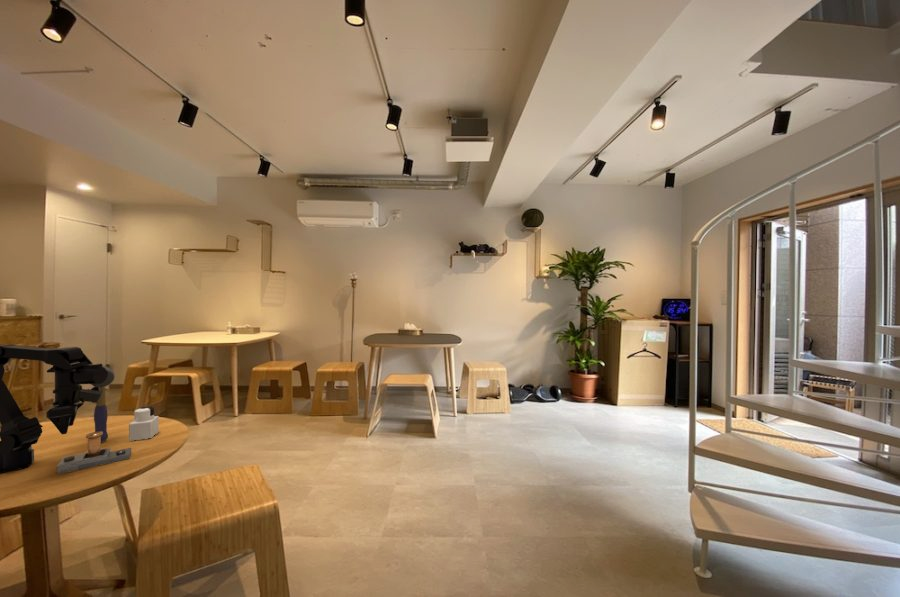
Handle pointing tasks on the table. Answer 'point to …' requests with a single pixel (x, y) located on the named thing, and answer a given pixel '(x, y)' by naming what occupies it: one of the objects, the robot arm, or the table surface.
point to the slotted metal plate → (91, 460)
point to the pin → (94, 443)
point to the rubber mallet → (102, 406)
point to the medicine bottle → (143, 424)
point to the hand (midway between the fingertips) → (67, 429)
